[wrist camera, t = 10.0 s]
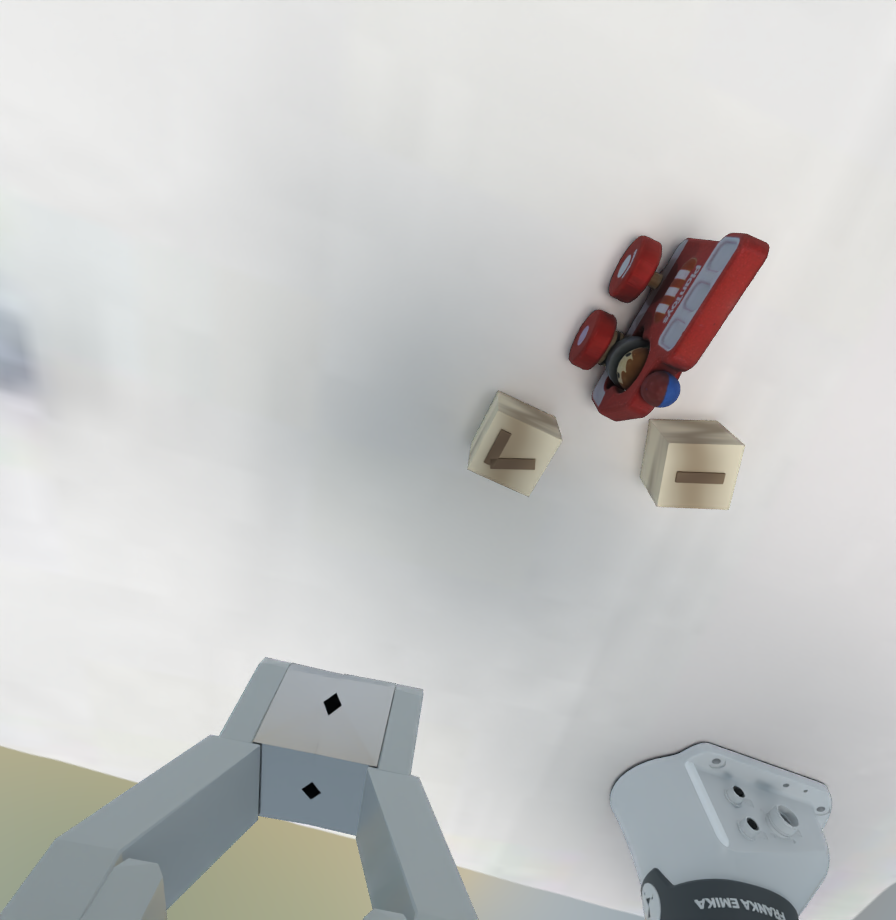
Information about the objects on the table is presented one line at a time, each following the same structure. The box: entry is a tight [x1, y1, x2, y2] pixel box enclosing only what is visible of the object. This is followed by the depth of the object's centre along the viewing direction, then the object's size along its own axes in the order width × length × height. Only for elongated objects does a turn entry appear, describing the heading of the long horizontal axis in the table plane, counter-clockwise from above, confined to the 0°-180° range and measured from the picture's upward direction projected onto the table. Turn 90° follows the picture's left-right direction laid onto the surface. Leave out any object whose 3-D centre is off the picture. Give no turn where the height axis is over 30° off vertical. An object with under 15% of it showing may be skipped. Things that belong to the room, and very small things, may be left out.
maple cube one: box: [640, 419, 745, 510], centre depth 38 cm, size 5×5×5 cm
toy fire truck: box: [569, 233, 769, 421], centre depth 32 cm, size 7×12×10 cm, turn 155°
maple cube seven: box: [467, 391, 562, 497], centre depth 38 cm, size 5×5×5 cm
